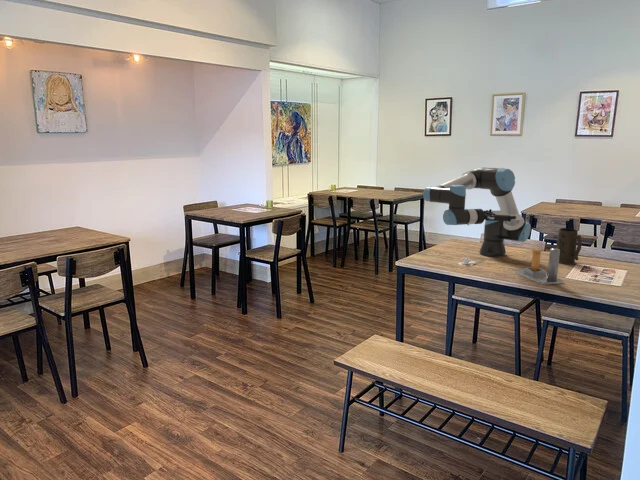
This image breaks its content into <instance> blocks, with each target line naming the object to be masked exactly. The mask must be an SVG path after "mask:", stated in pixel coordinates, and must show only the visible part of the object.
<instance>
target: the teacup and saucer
mask: <svg viewBox="0 0 640 480" xmlns="http://www.w3.org/2000/svg"><path fill="white" fill-rule="evenodd" d="M460 261H461V262H458V265H460V266H465V267H471V266H474V265H475V264H476V261H473V260H472V261H470V258H469V257H466V256H464V257H461V260H460Z"/></svg>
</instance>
